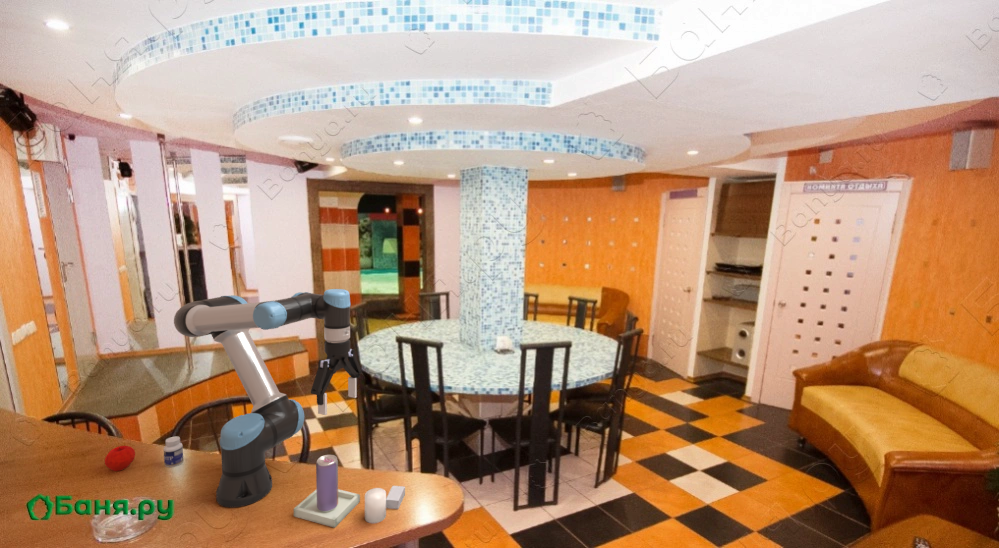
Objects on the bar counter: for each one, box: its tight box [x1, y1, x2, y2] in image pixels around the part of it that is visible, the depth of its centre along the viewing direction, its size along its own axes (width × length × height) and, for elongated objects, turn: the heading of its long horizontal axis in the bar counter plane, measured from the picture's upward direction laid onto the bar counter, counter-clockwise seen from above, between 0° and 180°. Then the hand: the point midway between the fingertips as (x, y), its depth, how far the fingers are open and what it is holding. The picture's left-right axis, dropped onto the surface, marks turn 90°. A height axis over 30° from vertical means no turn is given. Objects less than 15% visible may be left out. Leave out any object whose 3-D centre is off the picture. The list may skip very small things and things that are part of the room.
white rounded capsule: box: [364, 487, 387, 524], centre depth 128 cm, size 6×6×7 cm
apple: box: [104, 445, 136, 472], centre depth 146 cm, size 8×8×7 cm
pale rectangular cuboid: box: [386, 485, 406, 510], centre depth 136 cm, size 7×4×3 cm, turn 176°
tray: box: [293, 488, 361, 529], centre depth 131 cm, size 14×12×2 cm
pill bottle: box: [163, 435, 184, 468], centre depth 150 cm, size 5×5×9 cm
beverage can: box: [315, 454, 339, 512], centre depth 130 cm, size 6×6×15 cm
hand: (338, 405), depth 138 cm, fingers open, 13 cm apart
